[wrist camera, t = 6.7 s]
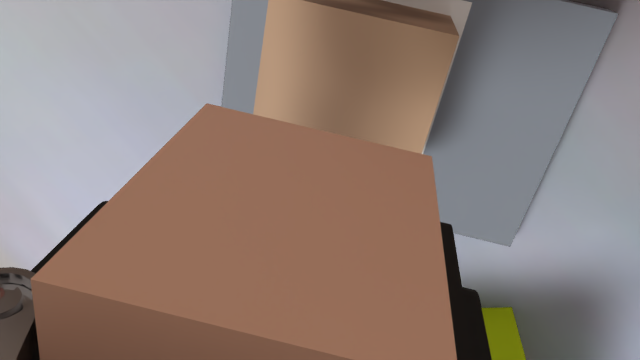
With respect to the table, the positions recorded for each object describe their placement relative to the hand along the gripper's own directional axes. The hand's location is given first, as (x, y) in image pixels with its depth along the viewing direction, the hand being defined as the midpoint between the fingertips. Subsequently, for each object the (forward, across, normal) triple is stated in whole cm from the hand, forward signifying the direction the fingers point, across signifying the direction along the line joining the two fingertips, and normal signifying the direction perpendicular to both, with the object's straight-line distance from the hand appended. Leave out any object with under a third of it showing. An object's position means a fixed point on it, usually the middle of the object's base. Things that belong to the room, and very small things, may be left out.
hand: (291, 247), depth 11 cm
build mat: (+15, -2, +1) cm, 15 cm away
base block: (+14, 0, 0) cm, 14 cm away
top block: (+1, 0, 0) cm, 1 cm away
